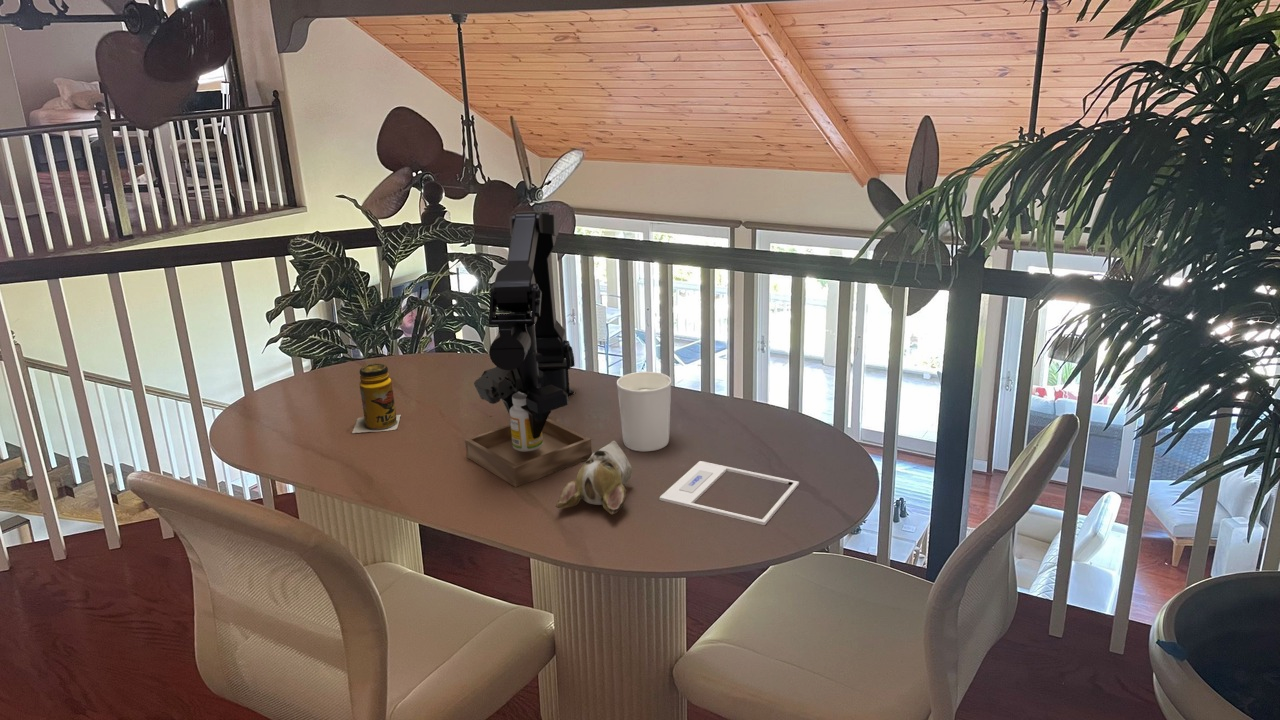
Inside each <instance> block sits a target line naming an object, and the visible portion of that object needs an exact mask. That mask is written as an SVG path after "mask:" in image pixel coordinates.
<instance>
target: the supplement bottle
mask: <svg viewBox="0 0 1280 720" xmlns="http://www.w3.org/2000/svg"><path fill="white" fill-rule="evenodd" d="M526 397H527V395H522V394H520V393H518V392H517V393H515V394H513V395H512V403H513V406H512V407H511V408H510V416H509V420H510V424H511V435H512V444H513V448H514V449H515V450H517V451H522V452H528V451H533V450H537V449H539V448H540V447H541V446H542V445H543V437H542V432H541V434H540V437H539V438H536V439H534V438H533V435H532V431H531V426H530V421H529V416H528V413H527V412H526V411H525V410H523V409H522V408H521V406H524V405H527V404H526Z"/></svg>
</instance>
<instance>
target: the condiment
mask: <svg viewBox="0 0 1280 720" xmlns="http://www.w3.org/2000/svg"><path fill="white" fill-rule="evenodd" d="M359 375H360V376H359V379H360V381H359V390H360V398H361V403H362V405H361V406H362V410H363V411H362V412H363V417H357V419H356V422H355V425H354V428H353V429H352V432H351V434H359V433H368V432H369V433H370V432H371V433H373V432H388V431H396V430H397V429H398V426H399V424H400V420H401V414H397V413H396V412H397V411H396V404H395V397H394V390H393V382H392V379H391V378H390V373H389V368H388V366H387V365H386V364H383V363H370V364H366V365H365V366H364V365H363V366H362V367H360V369H359Z"/></svg>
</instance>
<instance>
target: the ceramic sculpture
mask: <svg viewBox="0 0 1280 720" xmlns="http://www.w3.org/2000/svg"><path fill="white" fill-rule="evenodd" d="M628 459H629V458H627V456H626V454H625V452H624V450H623V449H622V448H621V447H620V445H619V444H618V442H617V441H616V440H611V442H610V443H608V444H606V445H605V446H603V447H601V448H600V449H599V450H596V451H594V452H592V455H591V456H590V458H589V459H587V460H585V462H584V463H583V464H582V466H581V468H579V470H578V473H577V475H576V478H575V479H574V480H570V481H569V482H566V484H565V486H564V487H563V488H562V490H561V493H560V495H559V498H558V501H557V503H556V504H555V508H557V509H565V508H571V507H575V506H576V505H578V504H579V502H580V500H581V499H583V501H584V502H585V503H587V504H590V505H595V506H602V507H603V509H604V510H606V512H607V513H609V514H610V515H615V514H617V513H618V512H619V511H620V510H621V509H622V508H623V507H624V505H625V501H626V494H627V489H626V487H625V485H626V484H627V483H628V482H629V480H630V479H631V476H632V471H633V467H632V465H631V464H630V461H629V460H628Z"/></svg>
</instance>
